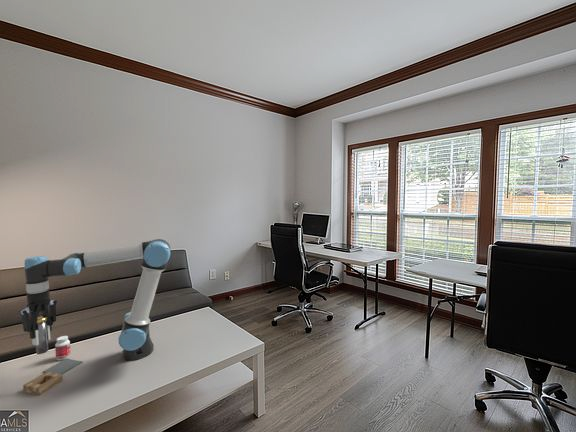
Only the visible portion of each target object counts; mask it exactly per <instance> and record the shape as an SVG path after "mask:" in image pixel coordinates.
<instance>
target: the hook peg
mask: <svg viewBox="0 0 576 432" xmlns="http://www.w3.org/2000/svg"><path fill="white" fill-rule="evenodd" d="M46 321H47V317H45V316H43V315H41V316H38V318H37V324H36V330H38V339H39V345H35V352H36V353H35V355H42V354H46V353H47V352H49V344H48V343H49V342H48V341H49V340H48V339H47V325H46Z"/></svg>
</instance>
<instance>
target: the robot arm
mask: <svg viewBox="0 0 576 432" xmlns="http://www.w3.org/2000/svg"><path fill="white" fill-rule="evenodd" d="M170 257H171V245H170V244H169V242H167V241H166V240H165V239H161V238H157V239H152V240H148V241H143V242H140V244H135V245H133V244H132V245H128V246H121V247H115V248H109V249H108V248H107V249H101V250H93V251H87V252H82V253H81V252H74V253H70V254H69V255H67V256H65V257H63V258H61V259H52V260H51V259H48V258H47V256H45V255H38V256H37V255H36V256H31V257H27V258H26V259H25V260H24V267H23V268H24V277H25V288H26V289H25V290H26V291H25V292H26V303H27V305H26V307H25V308H24V309H20V310H19V314H20V315H21V320H22V327H23V331H24V332H25V333H29V338H30V339H31V342H32V346H36V345H39V339H38V330H36V324H37V318H38V317H39V315H40V313H41V316H45V317H47V321H46V325H47V339H48V341H50V340H51V332H52V331H53V329H52V325H54V323H56V321H57V308H56V307H57V303H58V301H57V300H55V299H52V300H51V299H50V296H51V295H50V290H49V289H50V283H49V282H50V281H49V278H52V277H63V276H73V275H78V274H80V273H81V269H83V268H84V269H85V268H90V267H96V266H101V265H108V264H115V263H121V262H126V261H133V260H140V259H141V260H142V261H141V264H140V266H141V268H142V273H141V275H140V279H139V282H138V286H137V289H136V292H135V296H134V299H133V302H132V307H131V309H130V312H127V313H125V314H124V317H123V320H124V322H123V325H122V328H121V332H120V334H119V336H118V344H119V346H120V348H121V349H122V352H121V353H122V359H124V360H125V361H135V360H136V361H137V360H140V359H143V358H145V357H147V356H150V354H152V353H153V352H154V350H155V347H154V343H153V341H152V338H151V336H150V335H151V334H150V324H151V318H149V317H150V312H151V309H152V306H153V302H154V299H155V295H156V292H157V288H158V285H159V281H160V278H161V274H162V272H164V271H165V270H166V269H167V265H168V262H169V260H170Z"/></svg>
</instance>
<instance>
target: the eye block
mask: <svg viewBox="0 0 576 432" xmlns="http://www.w3.org/2000/svg"><path fill="white" fill-rule="evenodd" d="M63 381H64V377H63V374H62V375H61V374H56V373H51V372H46V373H44V372H43V373H42V374H40V375H38V376H37V377H35V378H33V379H30V381H28V382H26V383H24V384H22V388H23V392H24V393H29V394H34V395H38V396H40V395H42V394H44V393H46V392H47V391H49V390H50V389H51V388H52V389H53V388H54V387H55V386H57V385H58V384H60V383H62V382H63Z"/></svg>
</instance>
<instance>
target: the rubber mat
mask: <svg viewBox="0 0 576 432" xmlns="http://www.w3.org/2000/svg"><path fill="white" fill-rule="evenodd" d="M80 364H83V361H82V360H76V359H70V358H67V359H65V360H61V361H58V362H57V363H55V364H54V365H52V366H50V367H49V368H46V369H44V370H43V373H44V372H45V373H46V372H51V373H56V374H61V375H62V376H63V375H64V374H65V373H67V372H69V371H70V370H72V369H74V368H76V367H78V365H79V366H80Z"/></svg>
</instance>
